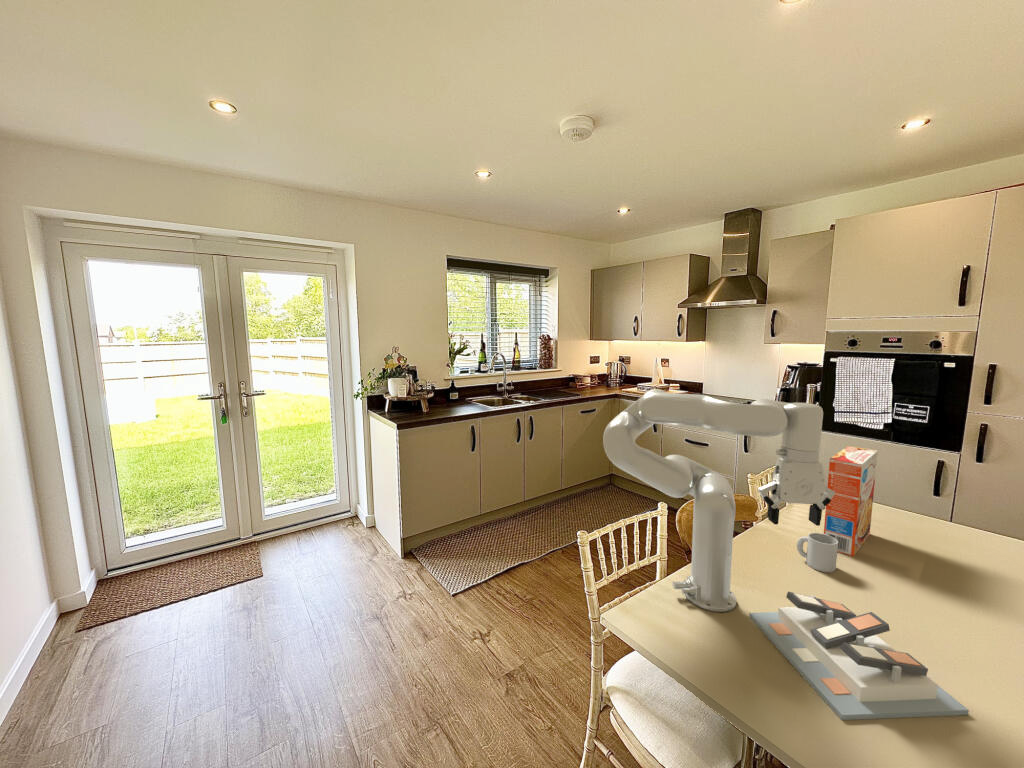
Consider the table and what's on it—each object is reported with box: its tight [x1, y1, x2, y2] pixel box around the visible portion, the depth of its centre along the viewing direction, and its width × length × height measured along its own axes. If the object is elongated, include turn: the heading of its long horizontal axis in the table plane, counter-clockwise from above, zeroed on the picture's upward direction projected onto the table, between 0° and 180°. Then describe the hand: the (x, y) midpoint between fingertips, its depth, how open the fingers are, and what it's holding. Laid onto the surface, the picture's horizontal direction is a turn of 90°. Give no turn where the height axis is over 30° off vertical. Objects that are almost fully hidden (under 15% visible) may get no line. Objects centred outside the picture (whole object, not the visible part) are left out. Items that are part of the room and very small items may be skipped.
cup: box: [796, 532, 838, 573], centre depth 126 cm, size 7×10×9 cm
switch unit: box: [748, 595, 970, 721], centre depth 89 cm, size 24×28×7 cm
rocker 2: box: [811, 611, 891, 649], centre depth 89 cm, size 14×4×2 cm, turn 92°
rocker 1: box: [785, 591, 857, 619], centre depth 97 cm, size 14×4×2 cm, turn 92°
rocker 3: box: [841, 642, 929, 676], centre depth 81 cm, size 14×4×2 cm, turn 92°
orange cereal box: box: [823, 445, 878, 557], centre depth 139 cm, size 23×8×30 cm, turn 130°
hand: (793, 522), depth 101 cm, fingers open, 9 cm apart
